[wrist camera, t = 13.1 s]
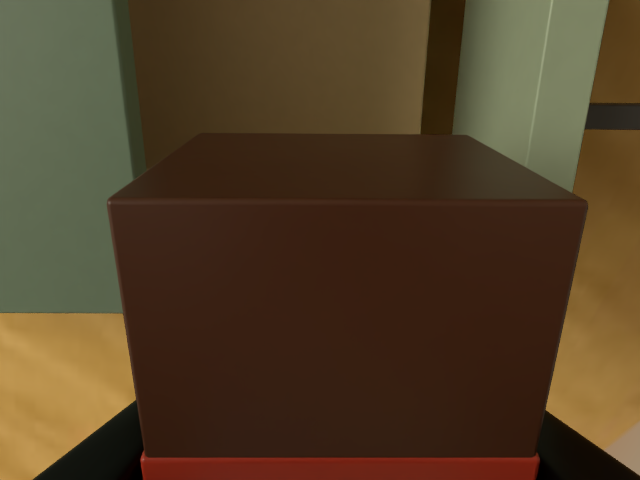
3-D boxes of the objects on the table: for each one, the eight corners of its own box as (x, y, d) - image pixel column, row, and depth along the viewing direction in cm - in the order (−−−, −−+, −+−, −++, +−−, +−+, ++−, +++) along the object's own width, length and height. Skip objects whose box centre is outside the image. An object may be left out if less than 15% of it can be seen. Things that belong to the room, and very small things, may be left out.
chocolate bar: (471, 133, 8) (599, 202, 5) (426, 519, 12) (480, 747, 8) (195, 131, 8) (94, 199, 5) (226, 519, 12) (183, 749, 8)
